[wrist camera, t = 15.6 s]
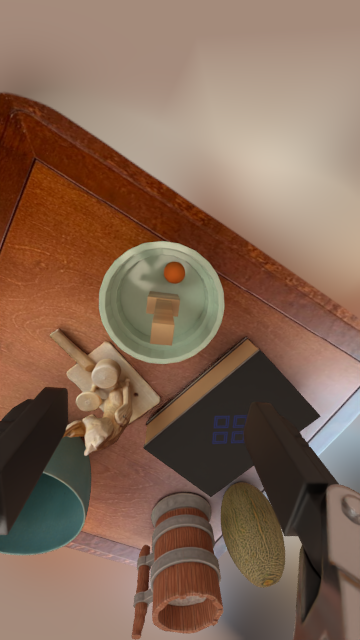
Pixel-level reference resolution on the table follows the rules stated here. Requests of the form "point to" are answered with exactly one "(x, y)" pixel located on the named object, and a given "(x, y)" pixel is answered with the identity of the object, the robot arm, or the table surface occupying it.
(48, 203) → the table surface
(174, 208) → the table surface
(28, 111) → the table surface
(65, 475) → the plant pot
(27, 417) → the robot arm
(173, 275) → the ball
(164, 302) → the stick
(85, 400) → the wooden toy
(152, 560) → the mug
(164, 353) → the bowl
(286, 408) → the book
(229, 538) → the fruit
